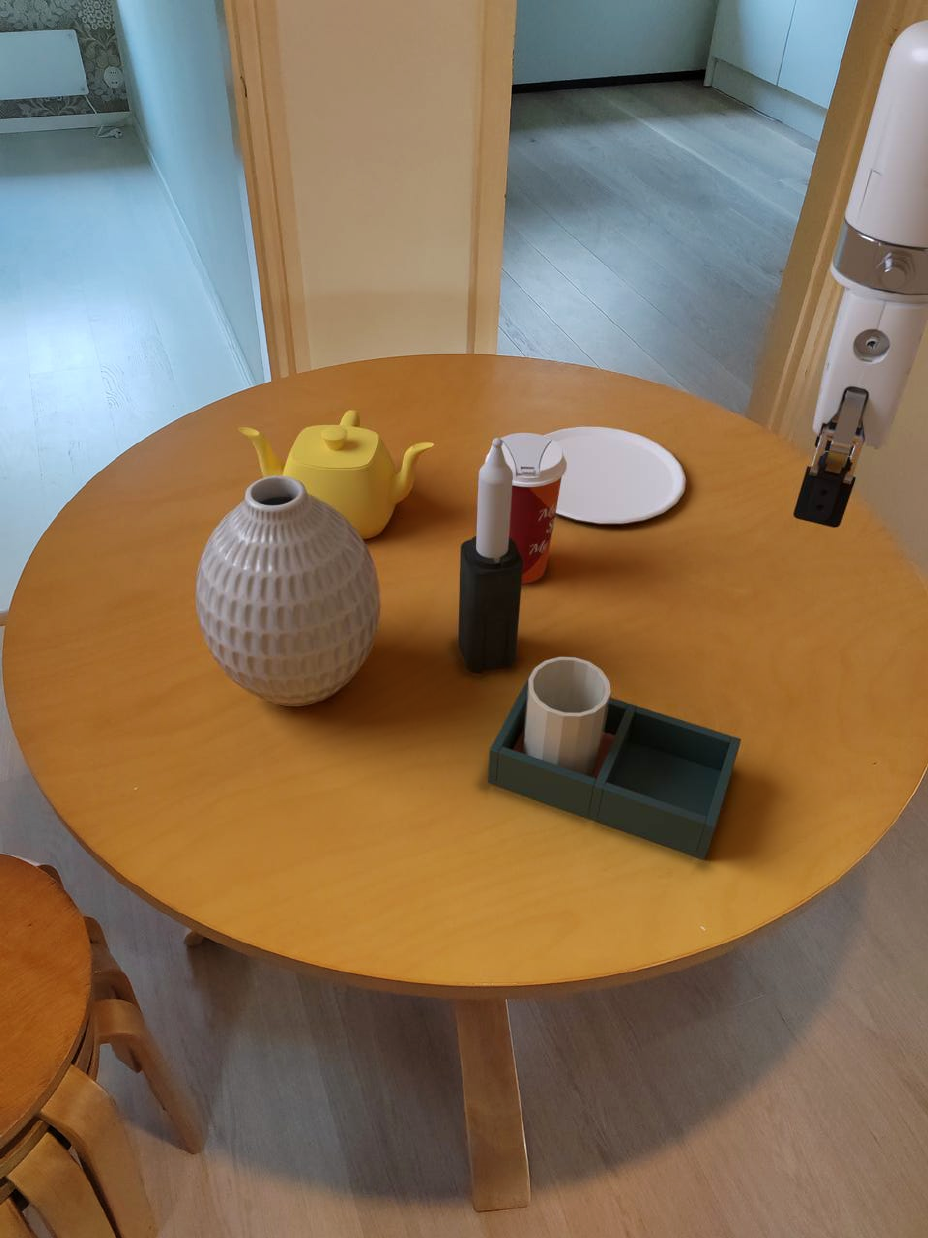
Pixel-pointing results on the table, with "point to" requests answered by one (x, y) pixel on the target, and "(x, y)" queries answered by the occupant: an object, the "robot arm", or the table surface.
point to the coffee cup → (533, 496)
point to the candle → (490, 574)
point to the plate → (615, 476)
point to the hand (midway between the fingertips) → (826, 484)
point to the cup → (566, 713)
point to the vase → (287, 595)
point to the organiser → (630, 775)
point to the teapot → (345, 470)
